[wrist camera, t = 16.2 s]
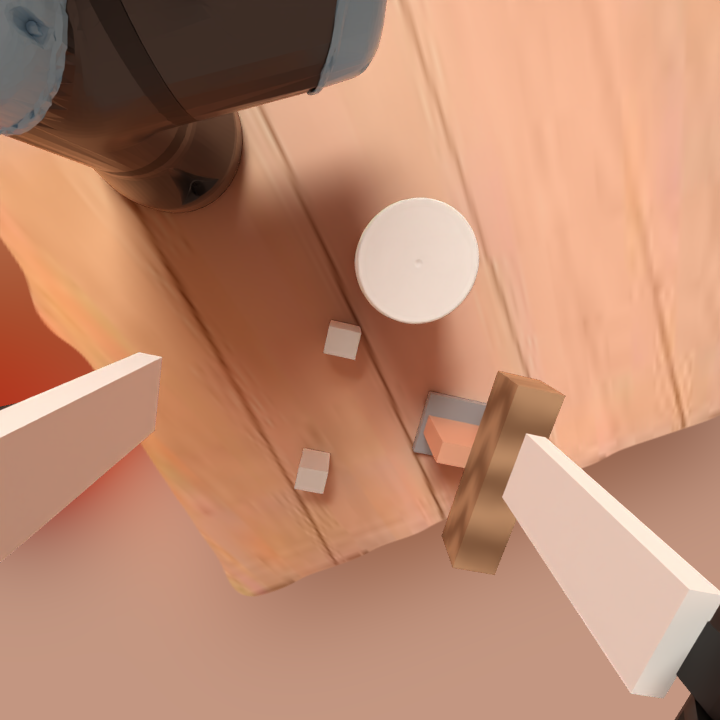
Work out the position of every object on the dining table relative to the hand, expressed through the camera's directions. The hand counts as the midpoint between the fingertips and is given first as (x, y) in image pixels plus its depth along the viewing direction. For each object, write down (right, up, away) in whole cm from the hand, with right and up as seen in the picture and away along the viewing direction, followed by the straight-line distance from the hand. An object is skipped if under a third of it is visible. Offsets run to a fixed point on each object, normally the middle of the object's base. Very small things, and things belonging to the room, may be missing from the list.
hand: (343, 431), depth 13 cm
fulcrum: (+14, -6, +34) cm, 37 cm away
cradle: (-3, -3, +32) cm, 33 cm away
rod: (+14, -8, +26) cm, 31 cm away
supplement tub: (+5, +14, +29) cm, 32 cm away
